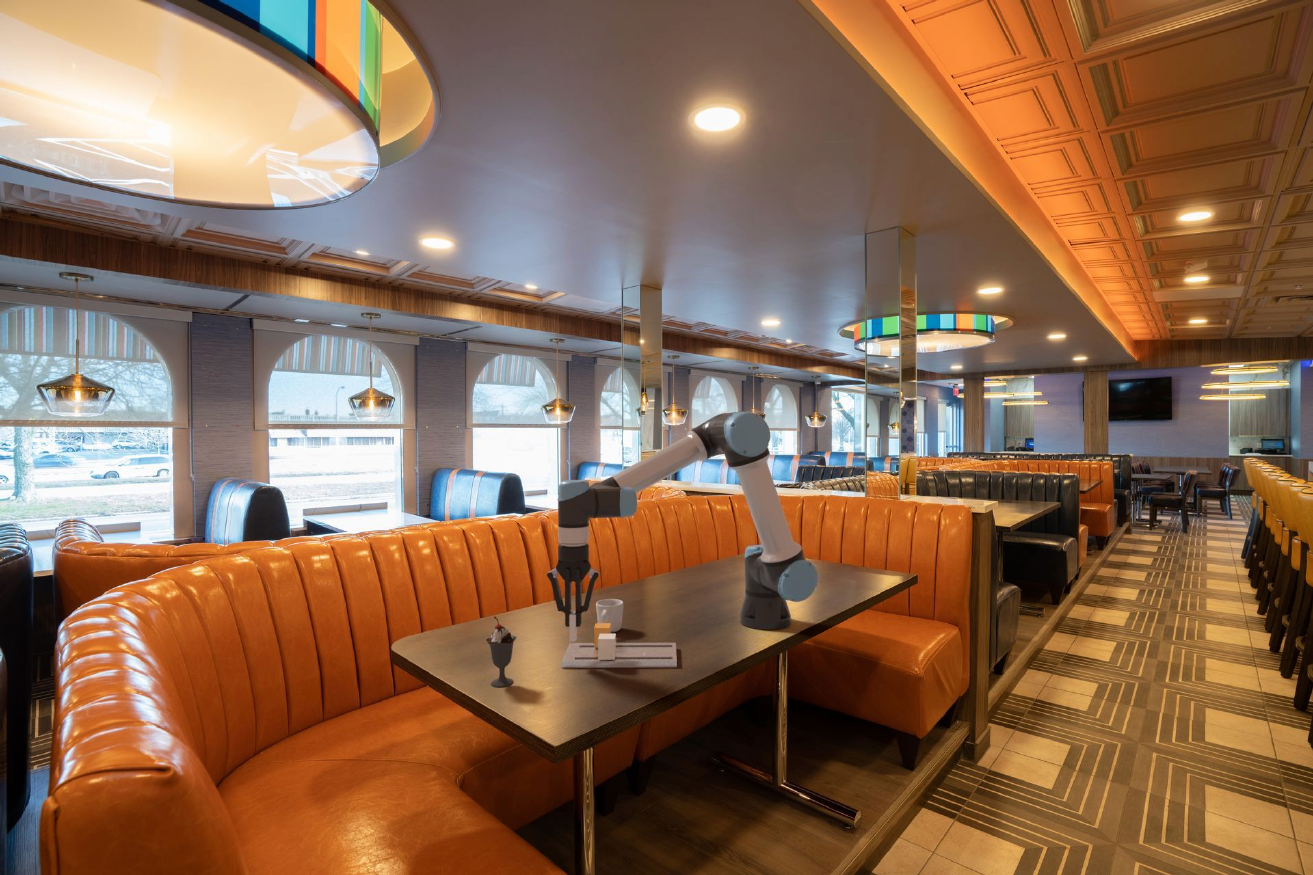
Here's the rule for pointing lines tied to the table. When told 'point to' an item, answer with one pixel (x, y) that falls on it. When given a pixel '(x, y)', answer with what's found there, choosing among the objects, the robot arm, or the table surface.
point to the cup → (610, 612)
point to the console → (621, 655)
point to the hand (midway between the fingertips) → (573, 639)
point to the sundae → (501, 653)
